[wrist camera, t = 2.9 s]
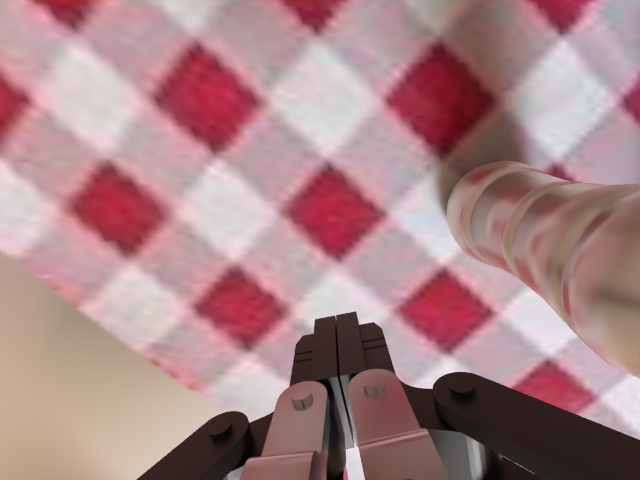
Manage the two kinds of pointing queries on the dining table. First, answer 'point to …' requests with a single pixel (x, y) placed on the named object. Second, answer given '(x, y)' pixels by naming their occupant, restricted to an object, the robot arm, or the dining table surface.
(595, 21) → the dining table surface
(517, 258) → the silver metal bottle
